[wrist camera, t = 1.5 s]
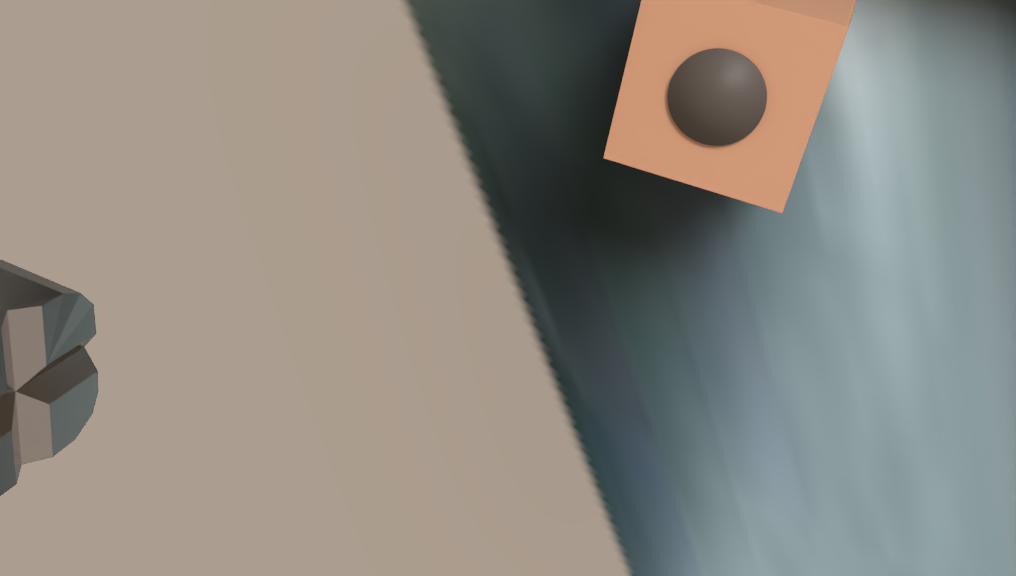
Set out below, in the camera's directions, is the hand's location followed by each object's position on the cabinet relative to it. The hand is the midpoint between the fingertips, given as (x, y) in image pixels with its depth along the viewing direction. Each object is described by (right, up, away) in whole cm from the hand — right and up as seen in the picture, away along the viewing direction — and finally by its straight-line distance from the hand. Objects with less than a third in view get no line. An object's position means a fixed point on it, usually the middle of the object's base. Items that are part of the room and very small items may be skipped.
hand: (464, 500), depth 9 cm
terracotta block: (+7, +8, +16) cm, 19 cm away
